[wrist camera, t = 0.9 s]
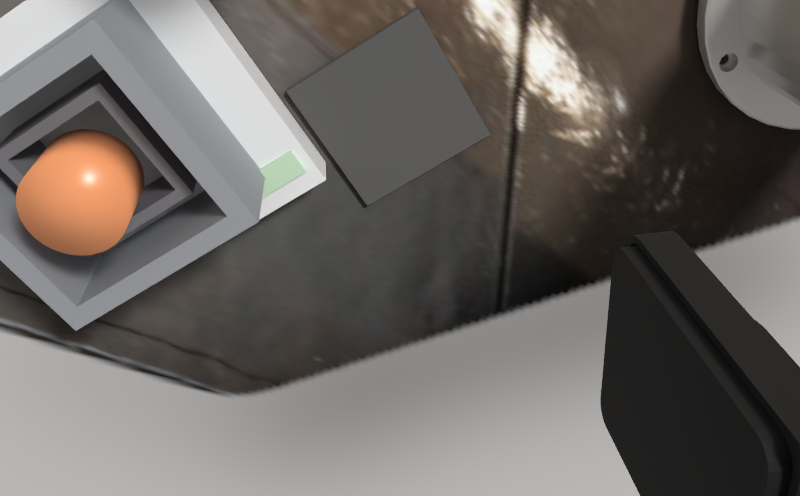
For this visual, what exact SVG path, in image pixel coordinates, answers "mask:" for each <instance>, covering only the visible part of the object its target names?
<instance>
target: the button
mask: <svg viewBox="0 0 800 496" xmlns="http://www.w3.org/2000/svg"><path fill="white" fill-rule="evenodd" d="M143 189H144V172H143V168H142V166H141V163H140V161H139V159H138V158H137V156H136V155H135V153H134V152H133V151H132V150H131V149H130V148H129V147H128V146H127V145H126V144H125V143H124V142H123V141H121V140H120V139H118V138H116V137H114V136H112V135H110V134H108V133H105V132H102V131H98V130H92V129H78V130H73V131H69V132H66V133H64V134H62V135H60V136H58V137H57V138H56V139H54V140H53V141H52V142H51V143H50V144H49V145H48V147H47V148H46V149H45V150H44V152H43V153H42V154H41V156H40V157H39V158H38V159H37V161H36V162H35V163H34V164H33V166H32V167H31V168H30V170H29V171H28V172H27V173H26V175H25V176H24V177H23V179H22V180H21V182H20V184H19V186H18V189H17V193H16V207H17V212H18V215H19V217H20V220H21V221H22V223H23V225H24V226H25V228H26V229H27V230H28V232H29V233H30V234H31V235H32V236H33V237H34V238H36V239H37V240H38V241H39V242H41V243H42V244H44V245H45V246H47V247H49V248H51V249H53V250H56V251H58V252H61V253H65V254H70V255H93V254H97V253H100V252H103V251H105V250H107V249H109V248H111V247H112V246H114V245H115V244H116V243H117V242H118V241H119V240H120V239H121V238H122V236H123V235H124V233H125V231H126V229H127V227H128V224H129V222H130V220H131V218H132V216H133V213H134V211H135V209H136V207H137V204H138V202H139V200H140V198H141V196H142V193H143Z"/></svg>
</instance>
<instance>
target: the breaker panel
mask: <svg viewBox="0 0 800 496" xmlns="http://www.w3.org/2000/svg"><path fill="white" fill-rule="evenodd" d="M78 129H92V130H98V131H102V132H105V133H108V134H110V135H112V136H114V137H116V138H118V139H120V140H121V141H123V142H124V143H125V144H126V145H127V146H128V147H129V148H130V149H131V150H132V151H133V152H134V153H135V155H136V156H137V158H138V159H139V161H140V163H141V166H142V168H143V172H144V189H143V193H142V196H141V198H140V200H139V202H138V204H137V207H136V209H135V211H134V213H133V216H132V218H131V220H130V222H129V224H128V227H127V229H126V231H125V233H124V235H123V236H122V238H121V239H120V240H119V241H118V242H117V243H116V244H115V245H114V246H112V247H111V248H109V249H107V250H105V251H103V252H100V253H97V254H93V255H70V254H65V253H61V252H58V251H56V250H53V249H51V248H49V247H47V246H45V245H44V244H42V243H41V242H39V241H38V240H37V239H36V238H34V237H33V236H32V235H31V234H30V233H29V232H28V230H27V229H26V228H25V226H24V225H23V223H22V221H21V220H20V217H19V215H18V212H17V207H16V193H17V189H18V186H19V184H20V182H21V180H22V179H23V177H24V176H25V175H26V173H27V172H28V171H29V170H30V168H31V167H32V166H33V164H34V163H35V162H36V161H37V159H38V158H39V157H40V156H41V154H42V153H43V152H44V150H45V149H46V148H47V147H48V145H49V144H50V143H51V142H52V141H53V140H54V139H56V138H57V137H58V136H60V135H62V134H64V133H66V132H69V131H73V130H78ZM325 180H326V162H325V161H324V159H323V158H322V157H321V155H320V154H319V152H318V151H317V150H316V148H315V147H314V145H313V144H312V143H311V141H310V140H309V138H308V137H307V136H306V134H305V133H304V132H303V130H302V129H301V127H300V126H299V125H298V123H297V122H296V120H295V119H294V118H293V116H292V115H291V113H290V112H289V111H288V109H287V108H286V107H285V105H284V104H283V102H282V101H281V100H280V98H279V97H278V95H277V94H276V93H275V91H274V90H273V88H272V87H271V86H270V84H269V83H268V82H267V80H266V79H265V77H264V76H263V75H262V73H261V72H260V70H259V69H258V68H257V66H256V65H255V63H254V62H253V61H252V59H251V58H250V57H249V55H248V54H247V52H246V51H245V50H244V48H243V47H242V45H241V44H240V43H239V41H238V40H237V38H236V37H235V36H234V34H233V33H232V32H231V30H230V29H229V27H228V26H227V25H226V23H225V22H224V20H223V19H222V18H221V16H220V15H219V13H218V12H217V11H216V9H215V8H214V7H213V5H212V4H211V2H210V1H209V0H25V1H24V2H23V3H21V4H20V5H18V6H17V7H16V8H14V9H13V10H11V11H10V12H9V13H7V14H6V15H4V16H3V17H2V18H0V260H1V261H2V262H3V263H4V264H5V265H6V266H7V267H8V268H9V269H10V270H11V271H12V272H13V273H14V274H16V275H17V276H18V277H19V278H20V279H21V280H22V281H23V282H24V283H25V284H26V285H27V286H28V287H29V288H30V289H32V290H33V291H34V292H35V293H36V294H37V295H38V296H39V297H40V298H41V299H42V300H43V301H44V302H45V303H46V304H48V305H49V306H50V307H51V308H52V309H53V310H54V311H55V312H56V313H57V314H58V315H59V316H60V317H61V318H62V319H64V320H65V321H66V322H67V323H68V324H69V325H70V326H71V327H72V328H73V329H74V330H75V331H77V330H78V329H80V328H82V327H83V326H85V325H87V324H88V323H90V322H92V321H93V320H95V319H97V318H98V317H100V316H102V315H103V314H105V313H107V312H108V311H110V310H112V309H114V308H115V307H117V306H119V305H120V304H122V303H124V302H125V301H127V300H129V299H130V298H132V297H134V296H135V295H137V294H139V293H140V292H142V291H144V290H145V289H147V288H149V287H150V286H152V285H154V284H155V283H157V282H159V281H161V280H162V279H164V278H166V277H167V276H169V275H171V274H172V273H174V272H176V271H177V270H179V269H181V268H182V267H184V266H186V265H187V264H189V263H191V262H192V261H194V260H196V259H197V258H199V257H201V256H202V255H204V254H206V253H208V252H209V251H211V250H213V249H214V248H216V247H218V246H219V245H221V244H223V243H224V242H226V241H228V240H229V239H231V238H233V237H234V236H236V235H238V234H239V233H241V232H243V231H244V230H246V229H248V228H249V227H251V226H253V225H254V224H256V223H258V222H259V220H260V219H261V218H263V217H265V216H266V215H268V214H270V213H271V212H273V211H275V210H276V209H278V208H280V207H281V206H283V205H285V204H286V203H288V202H290V201H291V200H293V199H295V198H296V197H298V196H300V195H302V194H303V193H305V192H307V191H308V190H310V189H312V188H313V187H315V186H317V185H318V184H320V183H322V182H323V181H325Z"/></svg>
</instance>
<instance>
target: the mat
mask: <svg viewBox="0 0 800 496" xmlns="http://www.w3.org/2000/svg"><path fill="white" fill-rule="evenodd" d="M286 92H287V94H288V95H289V96H290V98H291V99H292V101H293V102H294V103H295V105H296V106H297V108H298V109H299V110H300V112H301V113H302V115H303V116H304V118H305V119H306V120H307V122H308V123H309V125H310V126H311V127H312V129H313V130H314V132H315V133H316V134H317V136H318V137H319V139H320V140H321V141H322V143H323V144H324V146H325V147H326V148H327V150H328V151H329V153H330V154H331V155H332V157H333V158H334V160H335V161H336V162H337V164H338V165H339V167H340V168H341V170H342V171H343V172H344V174H345V175H346V177H347V178H348V179H349V181H350V182H351V184H352V185H353V186H354V188H355V189H356V191H357V192H358V193H359V195H360V196H361V198H362V199H363V200H364V202H365V203H366V205H367V206H369V205H370V204H372V203H374V202H375V201H377V200H379V199H381V198H382V197H384V196H386V195H387V194H389V193H391V192H393V191H394V190H396V189H398V188H400V187H401V186H403V185H405V184H406V183H408V182H410V181H412V180H413V179H415V178H417V177H418V176H420V175H422V174H424V173H425V172H427V171H429V170H430V169H432V168H434V167H436V166H437V165H439V164H441V163H442V162H444V161H446V160H448V159H449V158H451V157H453V156H455V155H456V154H458V153H460V152H461V151H463V150H465V149H467V148H468V147H470V146H472V145H473V144H475V143H477V142H479V141H480V140H482V139H484V138H485V137H487V136H489V135H491V134H490V132H489V131H488V129H487V127H486V125H485V124H484V122H483V120H482V119H481V117H480V115H479V113H478V112H477V110H476V108H475V106H474V105H473V103H472V101H471V99H470V98H469V96H468V94H467V92H466V91H465V89H464V87H463V85H462V84H461V82H460V80H459V78H458V77H457V75H456V73H455V72H454V70H453V68H452V66H451V65H450V63H449V61H448V59H447V58H446V56H445V54H444V52H443V51H442V49H441V47H440V45H439V44H438V42H437V40H436V38H435V37H434V35H433V33H432V31H431V30H430V28H429V26H428V25H427V23H426V21H425V19H424V18H423V16H422V14H421V12H420V11H419V9H418V7H417V8H415V9H414V10H412V11H410V12H409V13H407V14H406V15H404V16H402V17H401V18H399V19H398V20H396V21H395V22H393V23H391V24H390V25H388V26H387V27H385V28H383V29H382V30H380V31H379V32H377V33H376V34H374V35H372V36H371V37H369V38H368V39H366V40H364V41H363V42H361V43H360V44H358V45H356V46H355V47H353V48H352V49H350V50H349V51H347V52H345V53H344V54H342V55H341V56H339V57H337V58H336V59H334V60H333V61H331V62H330V63H328V64H326V65H325V66H323V67H322V68H320V69H318V70H317V71H315V72H314V73H312V74H310V75H309V76H307V77H306V78H304V79H303V80H301V81H299V82H298V83H296V84H295V85H293V86H291V87H290V88H288V89H287V90H286Z"/></svg>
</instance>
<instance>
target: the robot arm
mask: <svg viewBox="0 0 800 496" xmlns="http://www.w3.org/2000/svg"><path fill="white" fill-rule="evenodd" d="M697 32H698V42H699V50H700V53H701V56H702V60H703V63H704V66H705V69H706V72H707V73H708V75H709V77H710V78H711V80H712V82H713V83H714V85H715V87H716V88H717V90H718V91H719V92H720V93H721V94H722V95H723V96H724V97H725V98H726V99H727V100H728V101H729V102H730V103H731V104H732V105H734V106H735V107H737V108H738V109H739V110H741V111H742V112H744V113H745V114H746V115H748V116H749V117H752V118H754V119H756V120H758V121H761V122H763V123H765V124H767V125H771V126H776V127H781V128H786V129H800V0H699V5H698V16H697ZM723 56H724V59H723V60H722V61H721V58H722V57H723ZM606 333H607V334H606V344H605V355H604V367H603V378H602V389H601V410H602V416H603V419H604V423H605V425H606V427H607V429H608V431H609V433H610V435H611V437H612V439H613V441H614V443H615V446H616V447H617V449H618V452H619V453H620V456H621V458H622V460H623V462H624V464H625V466H626V468H627V469H628V472H629V474H630V476H631V478H632V480H633V482H634V484H635V486H636V487H637V490H638V492H639V494H640V496H800V367H799V366H798V365H797V364H796V363H795V362H794V360H793V359H792V358H791V357H790V356H789V355H788V354H787V353H786V351H785V350H784V349H783V348H782V347H781V346H780V345H779V344H778V343H777V341H776V340H775V339H774V338H773V337H772V336H771V335H770V334H769V333H768V331H767V330H766V329H765V328H764V327H763V326H762V325H760V324H759V323H758V322H757V321H755V320H754V319H753V318H752V317H751V316H750V315H749V314H748V312H747V311H746V310H745V309H744V308H743V307H742V306H741V305H740V303H739V302H738V301H737V300H736V299H735V298H734V297H733V296H732V295H731V293H730V292H729V291H728V290H727V289H726V288H725V287H724V286H723V284H722V283H721V282H720V281H719V280H718V279H717V277H716V276H715V275H714V274H713V273H712V272H711V271H710V270H709V269H708V267H707V266H706V265H705V264H704V263H703V262H702V261H701V259H700V258H699V257H698V256H697V255H696V254H695V253H694V252H693V250H692V249H691V248H690V247H689V246H688V245H687V244H686V243H685V241H684V240H683V239H682V238H681V237H680V236H679V235H678V234H677V233H676V232H674V231H665V232H657V233H649V234H640V235H632V236H630V237H629V238H628V240H627V242H626V246H625V247H622V248H617V249H616V250H615V252H614V256H613V265H612V276H611V287H610V299H609V310H608V322H607V332H606Z"/></svg>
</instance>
